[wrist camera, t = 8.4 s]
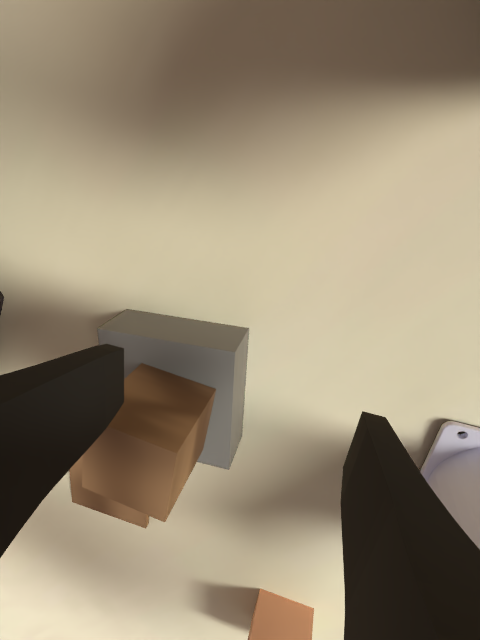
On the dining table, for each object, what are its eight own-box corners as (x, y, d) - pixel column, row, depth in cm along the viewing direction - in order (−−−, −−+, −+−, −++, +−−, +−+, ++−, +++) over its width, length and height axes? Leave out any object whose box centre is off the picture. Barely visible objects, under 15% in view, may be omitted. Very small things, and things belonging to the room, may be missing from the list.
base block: (250, 325, 22) (234, 352, 19) (243, 431, 25) (228, 469, 22) (130, 307, 23) (97, 328, 20) (137, 408, 27) (110, 440, 23)
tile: (151, 462, 28) (147, 467, 27) (148, 523, 31) (145, 528, 30) (71, 436, 29) (66, 440, 29) (76, 497, 32) (72, 501, 31)
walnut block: (216, 388, 20) (176, 453, 15) (203, 449, 22) (164, 522, 17) (141, 362, 20) (83, 416, 16) (135, 423, 22) (81, 486, 18)
